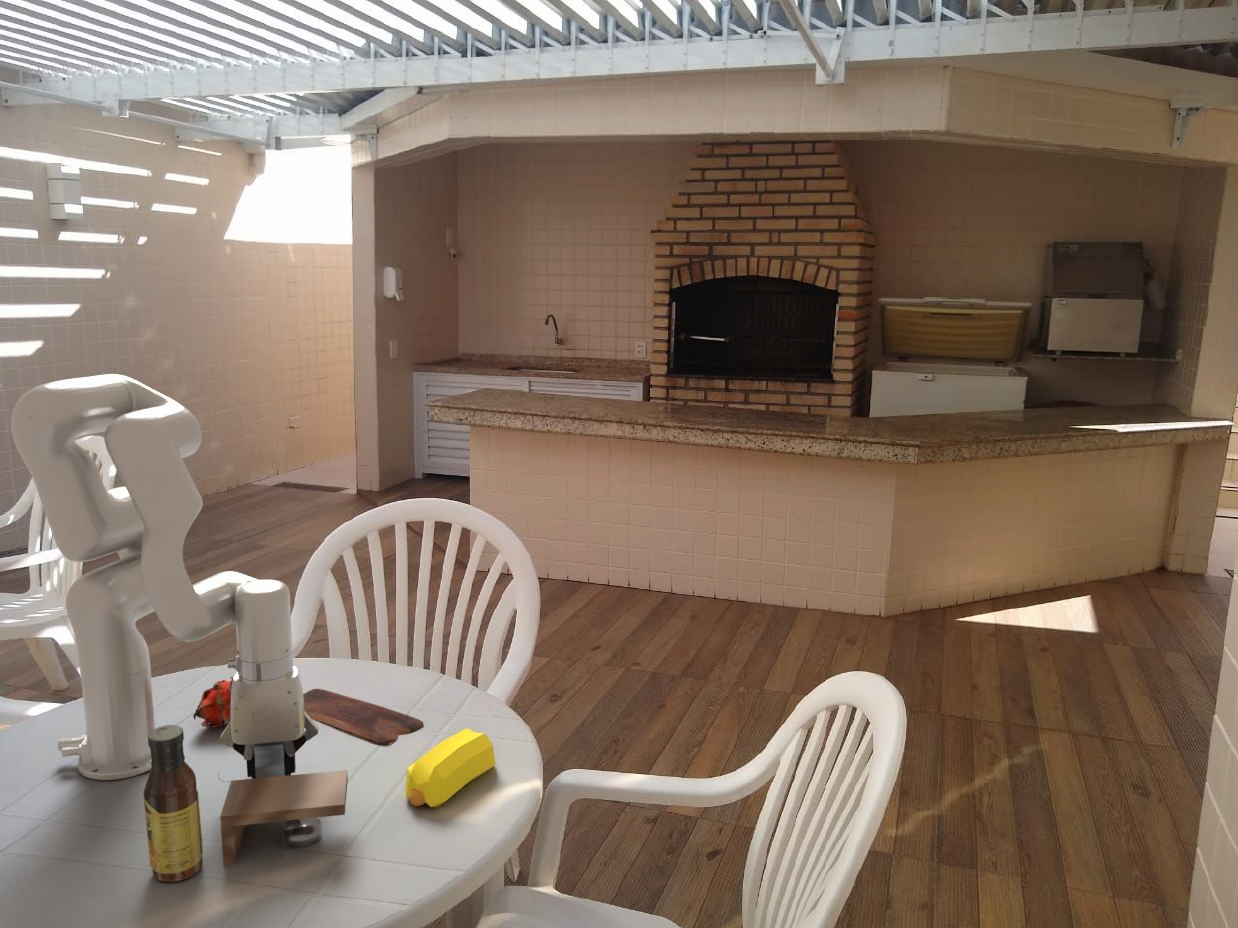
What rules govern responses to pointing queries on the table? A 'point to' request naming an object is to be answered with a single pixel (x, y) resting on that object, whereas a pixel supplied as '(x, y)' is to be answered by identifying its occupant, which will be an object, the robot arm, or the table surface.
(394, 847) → the table surface
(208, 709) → the dragon fruit
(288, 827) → the steel token
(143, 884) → the table surface
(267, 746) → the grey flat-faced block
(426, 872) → the table surface
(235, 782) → the walnut shelf
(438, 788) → the yellow faceted part
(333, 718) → the wooden tablet
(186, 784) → the sauce bottle
